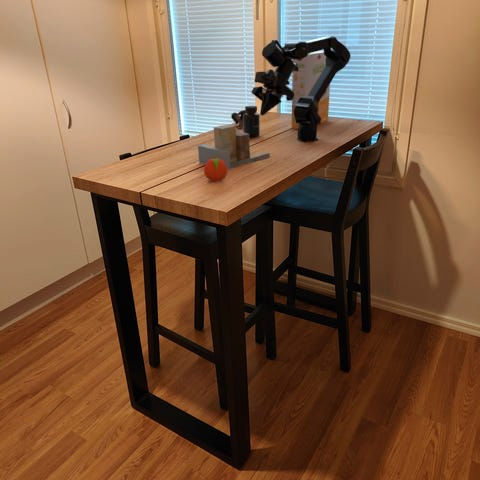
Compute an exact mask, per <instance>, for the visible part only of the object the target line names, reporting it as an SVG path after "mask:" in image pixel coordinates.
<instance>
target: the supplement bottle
mask: <svg viewBox="0 0 480 480" xmlns="http://www.w3.org/2000/svg"><path fill="white" fill-rule="evenodd" d="M244 110H245V111H246V113H245V114H244V115H243V126H242V129H243V130H242V131H243V132H242V133H247V134H249V139H251V138H252V139H253V138H258V137H259V136H260V133H261V130H260V129H261V127H260V125H261V124H260V121H261V120H260V119H261V118H260V116H261V115H260V113H258V112H257V111H258V106H257V105H245V107H244Z"/></svg>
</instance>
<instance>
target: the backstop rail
mask: <svg viewBox="0 0 480 480" xmlns="http://www.w3.org/2000/svg"><path fill="white" fill-rule="evenodd" d="M197 151H198V161H199V162H198V163H199V164H202V165H205V164H206V163H207V161H209V160H210V159H212V158H219V159H221V160H223V161H224V162H225V164H226V166H227V171H230V170H231V169H232V168H235V167H239V166H242V165H246V164H248V163H252V162H256V161H260V160H262V159H266V158H269V157H271V152H265V153H262V154H258V155H255V156H250V158H247V159H244V160H240V161H237V162H233V163H230V151H227V150H223V149H219V148H216V147H215V146H211V145H207V144H203V143H202V144H198V145H197Z"/></svg>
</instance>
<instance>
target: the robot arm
mask: <svg viewBox="0 0 480 480" xmlns="http://www.w3.org/2000/svg"><path fill="white" fill-rule="evenodd" d="M317 51H324V55H325V56H326V59H325V62H326V66H325V68H324V70H323V71H322V73H321V75H320V76H319V78H318V79H317V81H316V83H315V84H314V86H313V88H312V89H311V91H310V93H309V94H308V96H307V97H306V98H303V97H300V99H299V100H298V102H297V104H296V105H295V106H296V107H295V109H294V116H295V120H296V123H300V124H299V128H298V130H297V137H296V139H297V140H300V141H301V142H304V143H305V142H313V141H319V138H318V137H317V131H318V129H317V127H318V126H319V125H321V124H320V122H321V117H320V116H319V115H318V113H317V112H318V103H319V101H320V99H321V98H322V96H323V94H324V93H325V91H326V89H327V88H328V86H329V84H330V85H331V82H332V81H333V79H334V78H335V76H336V75H337V73H338V72H340V71H341V70H343V69H344V68H345V67H346V66H347V64H349V62H350V59H351V52H350V50H349V49H348V48H347V46H346V45H345V44H343V43H342V42H340V41H339V40H338V39H337V37H336V36H334V35H325V36H323V37H319V38H315V39H311V40H308V41H287V42H286V43H284V45H283V46H282V45H281V44H280V42H279V41H278V40H277V39H271V41H270V42H269V43H268V44H267V45H265V47H263V49H262V51H261V56H262V57H263V58H264V60H266V61H267V62H268V63H269V64H270V66H271V67H273V68H275V69H274V70H273V69H267V70H266V71H263V70H262V71H256V72H255V76H254V77H255V78H254V82H255V83H259V84H262V85H261V86H254V87H253V88H252V90H251V91H250V92H251V94H252V95H253V96H255V97H256V98H257V99H258V100H260V101H261V106H260V111H259V115H260V116H264V115H265V114H268V112H269V111H271V110H272V109H273V108H276V106H278V105H279V104H281V103H282V98H283V97H284V96H285V97H286V99H285V100H286V101H287V102H289V101H290V102H292V100H293V98H294V96H295V95H294V91H292V88H290V87H289V85H290V83H291V81H289V79H290V78H291V75H292V72H293V71H299V69H298V66H297V63H294V62H293V60H301V59H303V58H305V57H307V55H308V54H310V53H312V52H317ZM318 124H319V125H318Z"/></svg>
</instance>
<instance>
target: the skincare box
mask: <svg viewBox="0 0 480 480" xmlns="http://www.w3.org/2000/svg"><path fill="white" fill-rule="evenodd" d="M236 131H237V128H236V125H233V124H223V125H222V124H221V125H217V126H214V127H213V137H214V138H213V139H214V147H216V148H219V149H223V150H227V151H230V163H233V162H237V145H236Z"/></svg>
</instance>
